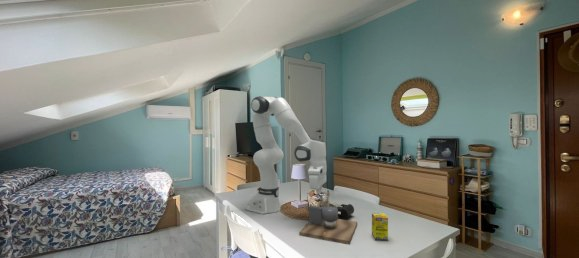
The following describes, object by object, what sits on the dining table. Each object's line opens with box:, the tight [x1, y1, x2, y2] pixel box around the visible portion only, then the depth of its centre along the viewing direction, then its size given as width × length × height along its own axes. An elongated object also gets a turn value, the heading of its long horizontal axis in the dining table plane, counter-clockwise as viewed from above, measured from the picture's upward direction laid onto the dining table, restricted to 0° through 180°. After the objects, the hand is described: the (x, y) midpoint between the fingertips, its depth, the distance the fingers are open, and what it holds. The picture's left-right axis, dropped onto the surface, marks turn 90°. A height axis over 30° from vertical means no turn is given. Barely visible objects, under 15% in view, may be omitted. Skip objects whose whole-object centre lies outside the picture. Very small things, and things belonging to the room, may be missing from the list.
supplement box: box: [371, 212, 389, 242], centre depth 116 cm, size 6×6×11 cm
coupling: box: [308, 205, 339, 224], centre depth 127 cm, size 15×8×8 cm, turn 66°
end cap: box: [336, 203, 355, 220], centre depth 143 cm, size 10×7×7 cm
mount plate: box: [298, 219, 358, 245], centre depth 126 cm, size 24×24×6 cm
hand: (319, 193), depth 135 cm, fingers closed
